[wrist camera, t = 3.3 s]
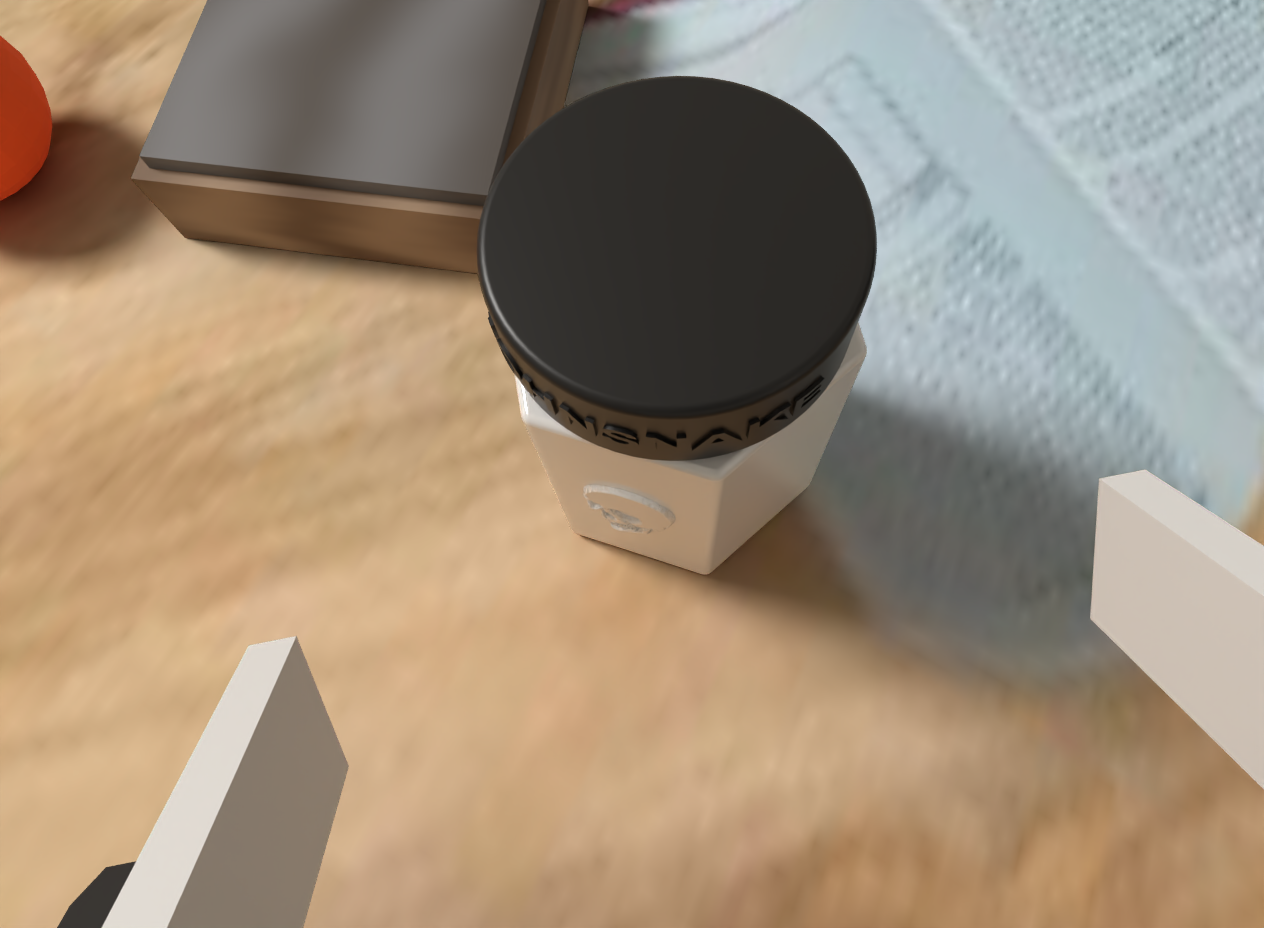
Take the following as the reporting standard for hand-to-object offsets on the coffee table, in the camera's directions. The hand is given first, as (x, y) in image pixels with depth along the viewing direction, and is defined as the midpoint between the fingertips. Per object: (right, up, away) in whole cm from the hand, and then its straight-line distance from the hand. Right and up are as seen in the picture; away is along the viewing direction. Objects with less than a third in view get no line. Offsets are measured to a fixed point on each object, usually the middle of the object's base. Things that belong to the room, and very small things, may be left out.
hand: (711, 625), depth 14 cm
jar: (0, +3, +15) cm, 15 cm away
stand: (-11, +16, +20) cm, 28 cm away
